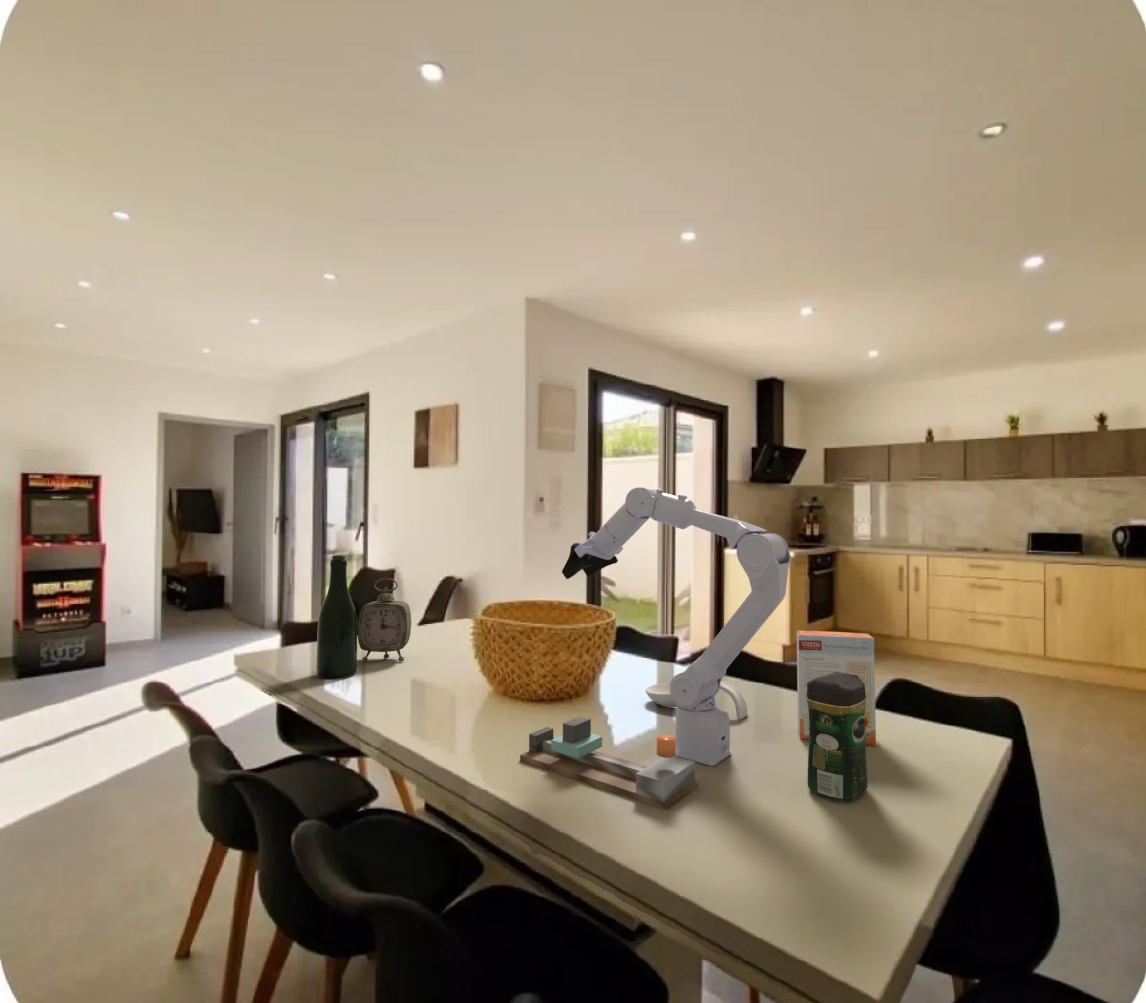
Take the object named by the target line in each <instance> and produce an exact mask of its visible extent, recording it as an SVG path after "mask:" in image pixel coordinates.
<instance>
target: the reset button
mask: <svg viewBox="0 0 1146 1003" xmlns="http://www.w3.org/2000/svg"><path fill="white" fill-rule="evenodd" d="M656 755H657V756H658V757H661V758H663V757H664V758H671V757H674V756H676V736H673V735H670V734H669V735H668V734H660V735H658V736H656ZM676 757H677V756H676Z"/></svg>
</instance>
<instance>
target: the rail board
mask: <svg viewBox="0 0 1146 1003" xmlns="http://www.w3.org/2000/svg"><path fill="white" fill-rule="evenodd" d="M528 736H529V737H528V738H529V739H528V740H529V741H528V743H529V744H528V750H527V751H525V752H524V753H521V754H520V755H519V760H520V761H521V762H524V763H526V764H530V765H532V766H535V767H538V768H540V769H541V768H542V769H544V770H548V771H551V772H553V773H557V774H560V775H562V776H564V777H565V776H566V777H569V778H571V779H574V780H577V781H579V782H582V783H586V784H589V785H592V786H594V787H597V786H598V788H600V787H601V789H603V788H604V790H606V789H607V790H606V791H609V790H610V792H613V793H616V794H619V795H620V796H621V795H622V796H624V797H628V798H631V799H633V800H636V801H640V802H642V803H645V804H648V805H651V806H654V807H657V808H659V809H663V810H666V811H667V810H669V809H671V808H672V807H673V806H675V805H676V804H677V803H679V802H680V801H681V800H683V799H684V798H685V797H687V796H688V795H690V794H691V793H692V792H694V791H695V790H697V788H698V786H699V785H698V783H699V781H697V780H696V761H692V760H688V759H685V758H681V757H677V756H674V757H671V758H664V757H661V758H659V759H658V760H655V761H654V762H652V763H651V764H649V765H645V764H640V763H637V762H633V761H630V760H628V759H623V758H621V757H617V756H614V755H610V754H607V753H603V752H600V751H598V750H597V751H596V750H594V751H592V752H590V753H588V754H586V755H584V756H582V757H580V758H575V757H571V756H568V755H565V754H562V753H559V752H555V751H552V750H551V740H552V739H554V728H552V727H550V726H546V727H544V728H541V729H539V730H536V731H533V732H531V733H529V735H528Z"/></svg>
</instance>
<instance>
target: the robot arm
mask: <svg viewBox="0 0 1146 1003" xmlns="http://www.w3.org/2000/svg"><path fill="white" fill-rule="evenodd" d="M649 519H651V520H654V521H655V522H659V523H660V524H661V523H662V524H665V525H667V526H671V527H674V528H677V529H680V530H685V529H687V528H688V527H690V526H694V527H695V528H698V529H701V530H704V531H706V532H709V533H712V534H715V535H717V536H721V537H723V538H726V540H727V543H728V544H729V547H730V548H731V550H736V557H737V560H738V563H739V564H740V566H741V567H742V569H743V571H744V573H745V574H746V576H747V577H748V580H749V584H750V589H751V591H750V593H749V594H748V596H747V597H746V598H745V599H744V601H743V602H742V603H741V604H740V605H739V607H738V608H737V609H736V610H735V611H734V613H733V615H732V616H731V617H730V618H729V620H728V621H727V622H726V623H725V624H724V625H723V627H722V628H721V630H720V631H719V633H718V634H717V635H716V636H715V637H714V638H713V640H712V641H711V642H710V644H709V645H708V646H707V647H706V649H705V650H704V652H702V654H701V655H700V656H699V657H697V659H696V660H694V661H693V662H691V664H689V666H688V667H687V668H686V670H684V671H682V672H679V673H678V674H676V675H674V676H673V677H672V679H671V680H670V682H669V683H670V693H671V696H672V698H673V700H674V701H675V702H676V708H675V738H676V757H679V758H683V759H687V760H690V761H694V762H695V763H699V764H704V765H707V766H712V767H714V766H716V765H718V764H719V763H720V762H721V761H724V760H725V759H726V758H728V756H730V755H731V754H732V750H731V748H730V747H731V745H730V744H731V734H730V732H731V731H730V730H731V725H730V724H731V723H730V722H731V721H730V715H729V714H728V713H729V712H727V711H725V710H722V709H720V708H718V707H717V706H716V700H715V695H717V694H718V693H719V691H720V690H721V689H720V685H721V681H723V678H724V677H725V676H726V675H727V669H728V668H729V666H730V665H731V664H732V663H733V662H734V661H735V659H736V658H737V657H738V656H739V654H740V653H741V652H742V651H743V649H744V648H745V647H746V646H747V645H748V643H749V642H750V641H751V640H752V638H753V637H755V635H756V634H757V632H758V631H759V630H760V629H761V627H762V626H763V625H764V624H765V623H766V622H767V620H768V619H769V618H770V616H771V615H772V614H773V613H774V611H775V610H777V608H778V606H779V605H780V604H781V603H782V602H783V601H784V599H785V597H786V594H787V586H788V585H787V583H788V576H789V574H788V573H789V568H790V565H791V563H792V561H793V560H792V556H791V553H790V549H789V546H788V543H787V542H786V540H785V538H783V537H782V536H781V535H779V533H774V532H768V530H766V529H765V528H763V527H760V526H759V525H758V526H757V525H754V524H752V523H749V522H745V521H743V520H739V519H736V518H731V517H727V516H724V515H719V514H716V513H713V512H708V511H704V510H700V509H697V507H696V504H695V503H694V502H693V500H691V499H688V496H687V495H685V494H680V493H679V494H678V495H677V496H676V495H674V494H669V493H666V492H665V491H664V489H661V488H657V489H656V488H651V487H634V488H632V489H631V490H629V491H628V493H627V494H626V496H625V502H624V503H623V504H622V506H621V507H619V508H618V509H617V510H616V512H615V513H613V515H612V516H611V517H610V518H609V519H608V520H607V521H606V522H605V523H604V524H603V525H602V527H600V528H599V530H598V531H597V532H595V531H590V532H589V533H587V534H588V535H587V536H589V538H588V539H587V540H585V541H584V542H582V543H580V542H575V543H574V542H573V544H572V545H571V546H570V551H569V555H568V558H567V560H566V563H565V564H564V567H563V568H562V570H561V573H562V575H563V576H564V578H565V579H566V580H569V579H571V578H573V577H574V576H576V574H578V573H579V572H580V571H583V572H584V574H585V575H586V576H587V577H591V576H593V575H594V574H596V573H598V572H599V571H601V570H602V569H604V568H606V567H608V566H611V565H615V564H617V563H618V562H619V559H618V558H617V556H616V555H619V554H620V553H621V552H622V551H623V550H624V547H623V546H624V545H625V544H626V543H627V542H628V541H629V540H630V539H631V538H632V537H633V536H634V535H635V534H636V533H637V532H638V531H639V530H640V529H641V527H642V526H643V525H644V524H645V523H646V522H648V520H649ZM765 532H766V533H765ZM590 556H591V557H590Z"/></svg>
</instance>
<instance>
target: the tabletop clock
mask: <svg viewBox="0 0 1146 1003" xmlns="http://www.w3.org/2000/svg"><path fill="white" fill-rule="evenodd" d="M380 581H391V582H393V583H395V587H394V588H392V589H391V588H390V589H388V587H387V586H385V587H384V588H383V589H381V588H379V587H377V584H378V583H379V582H380ZM398 584H399V583H398V582H397V581H396V580H395V578H394V579H393V578H390V577H382V578H379V579H377V580H376V581H375V582H374V585H373V586H374V589H376V591H378V592H382V593H380V594H379V595H378V597H377V598H376V600H375V601H371V602H368V603H366V604H365V605H363V606H361V608H360V610H359V612H358V616H357V617H358V618H357V643H358V645H359V647H360V649H361V650H363V651H366V652H367V653H366V655H365V656H363V657H362V658H361V661H362V662H363V663H367V662H368V657H369V655H370V654H371V653H372V652H374V653H384V655H383V658H384V659H385V658H388V659H389V657H390V655H389V654H390V652H396V653H397V655H398V662H400V661H402V662H404V660H405V658H404V656H402V655H401V650H402V649H404V648H405V647H406V645H408V643H409V641H410V638H411V633H412V632H411V631H412V614H411V608H410V605H409V603H408V602H405V601H403V600H395V596H394V595H393V594H392V593H390V592H393V591H395V590H396V589H397V588H398V587H399V585H398ZM366 661H367V662H366Z"/></svg>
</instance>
